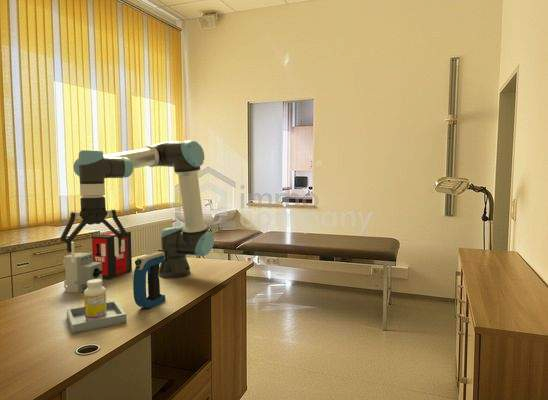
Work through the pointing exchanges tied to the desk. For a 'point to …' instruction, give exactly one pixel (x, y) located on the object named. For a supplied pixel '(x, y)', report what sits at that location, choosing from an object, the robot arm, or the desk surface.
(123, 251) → the cleaning product box
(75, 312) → the tray
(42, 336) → the desk surface
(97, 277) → the circuit breaker
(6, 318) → the desk surface
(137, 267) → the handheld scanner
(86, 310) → the supplement bottle
